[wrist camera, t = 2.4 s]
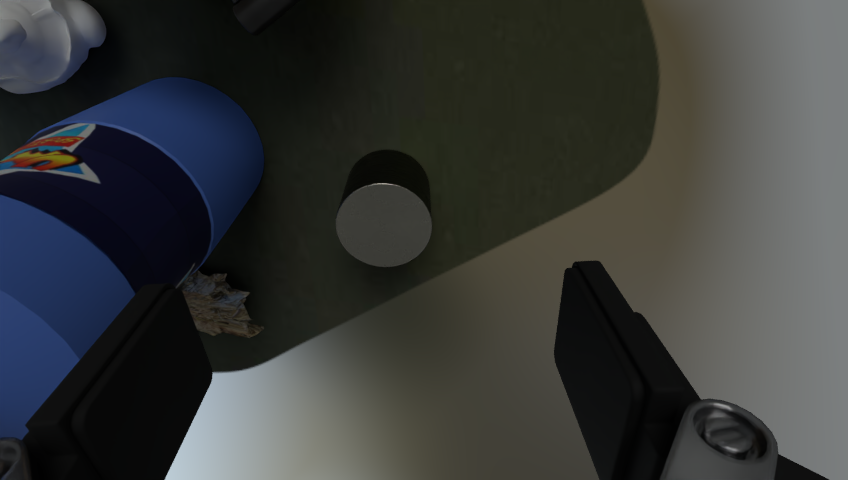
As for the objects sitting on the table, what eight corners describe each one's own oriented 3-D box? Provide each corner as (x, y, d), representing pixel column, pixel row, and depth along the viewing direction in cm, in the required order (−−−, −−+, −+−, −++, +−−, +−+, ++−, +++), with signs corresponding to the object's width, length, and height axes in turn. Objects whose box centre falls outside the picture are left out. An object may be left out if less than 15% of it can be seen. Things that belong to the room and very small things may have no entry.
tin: (426, 146, 30) (429, 180, 25) (431, 222, 33) (434, 264, 28) (341, 152, 30) (328, 186, 25) (353, 227, 33) (343, 270, 28)
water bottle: (84, 97, 28) (-1019, 541, 6) (225, 55, 27) (-528, 419, 5) (166, 227, 33) (-313, 734, 11) (289, 195, 31) (23, 689, 10)
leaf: (263, 298, 32) (274, 284, 34) (47, 228, 32) (70, 217, 33) (242, 407, 37) (252, 389, 39) (55, 349, 37) (74, 334, 38)
